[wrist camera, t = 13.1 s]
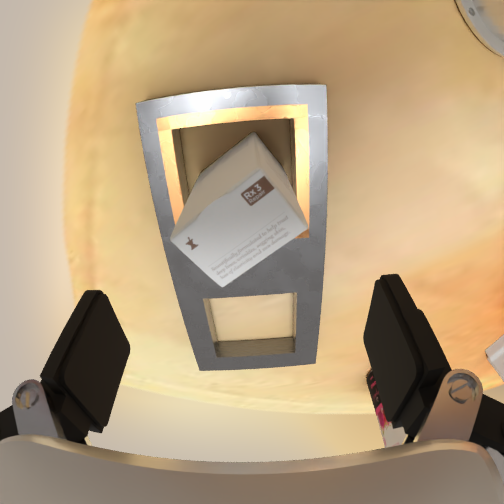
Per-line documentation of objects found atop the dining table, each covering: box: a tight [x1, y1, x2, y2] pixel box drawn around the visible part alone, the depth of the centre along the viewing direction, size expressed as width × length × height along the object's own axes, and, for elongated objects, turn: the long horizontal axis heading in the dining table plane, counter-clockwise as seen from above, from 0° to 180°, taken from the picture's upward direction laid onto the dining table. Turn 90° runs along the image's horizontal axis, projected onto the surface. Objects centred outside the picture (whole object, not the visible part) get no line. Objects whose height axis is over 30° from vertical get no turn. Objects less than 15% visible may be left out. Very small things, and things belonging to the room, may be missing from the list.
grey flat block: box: [136, 84, 328, 371], centre depth 29 cm, size 30×14×3 cm, turn 4°
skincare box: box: [170, 132, 308, 287], centre depth 21 cm, size 6×4×12 cm
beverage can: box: [367, 370, 407, 448], centre depth 35 cm, size 6×6×15 cm
